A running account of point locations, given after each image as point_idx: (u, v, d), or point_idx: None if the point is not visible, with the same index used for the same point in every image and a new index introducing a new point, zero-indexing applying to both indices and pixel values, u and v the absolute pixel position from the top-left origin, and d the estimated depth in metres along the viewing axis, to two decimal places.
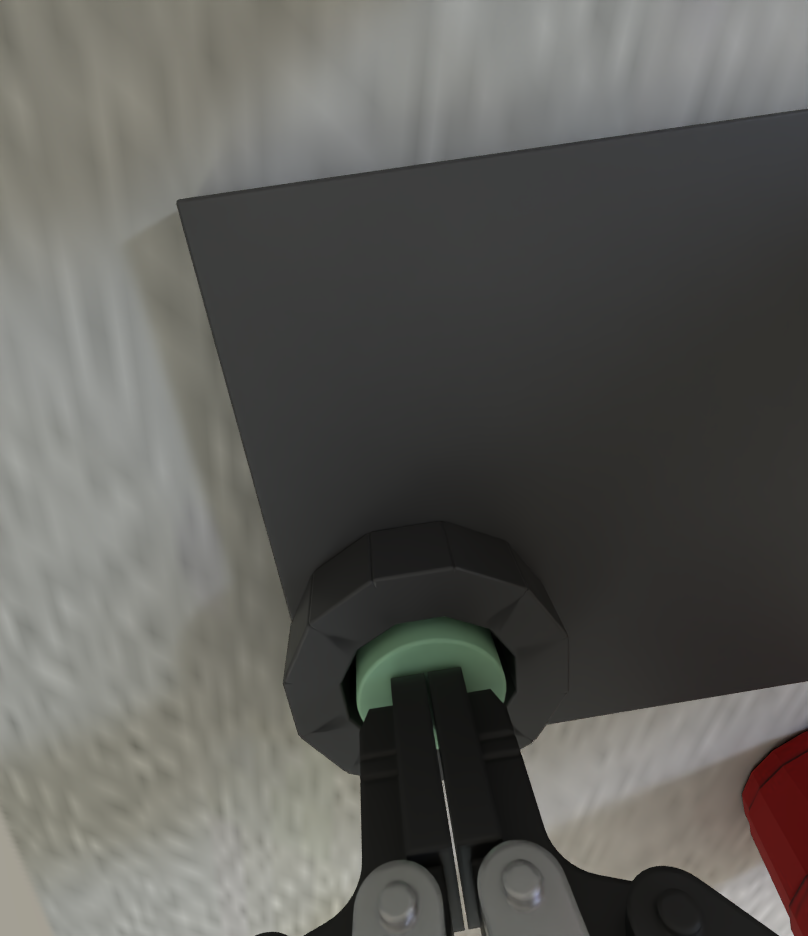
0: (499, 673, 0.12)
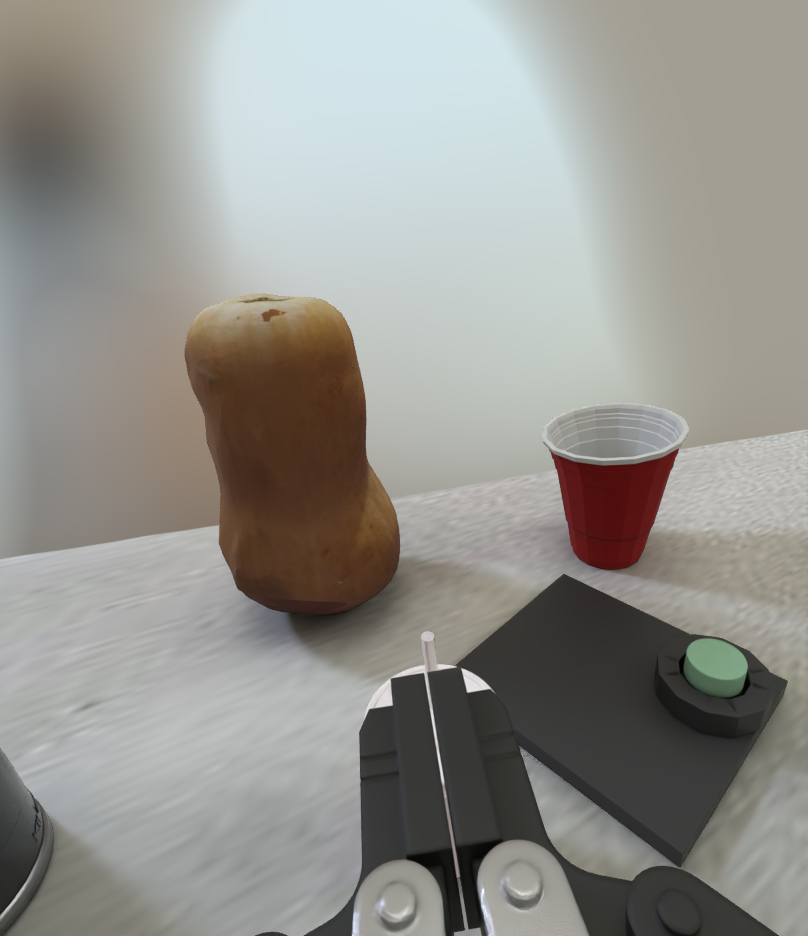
0: (688, 649, 0.34)
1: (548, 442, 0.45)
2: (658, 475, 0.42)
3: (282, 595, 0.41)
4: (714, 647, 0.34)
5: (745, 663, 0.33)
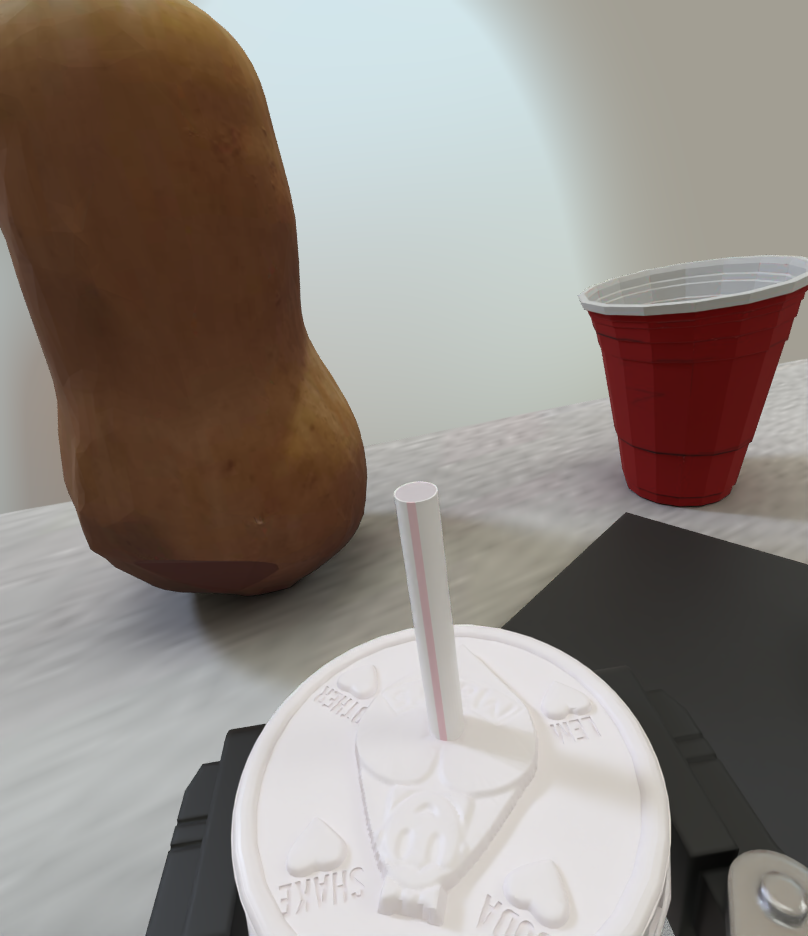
0: None
1: (593, 302, 0.29)
2: (778, 333, 0.26)
3: (160, 552, 0.23)
4: None
5: None
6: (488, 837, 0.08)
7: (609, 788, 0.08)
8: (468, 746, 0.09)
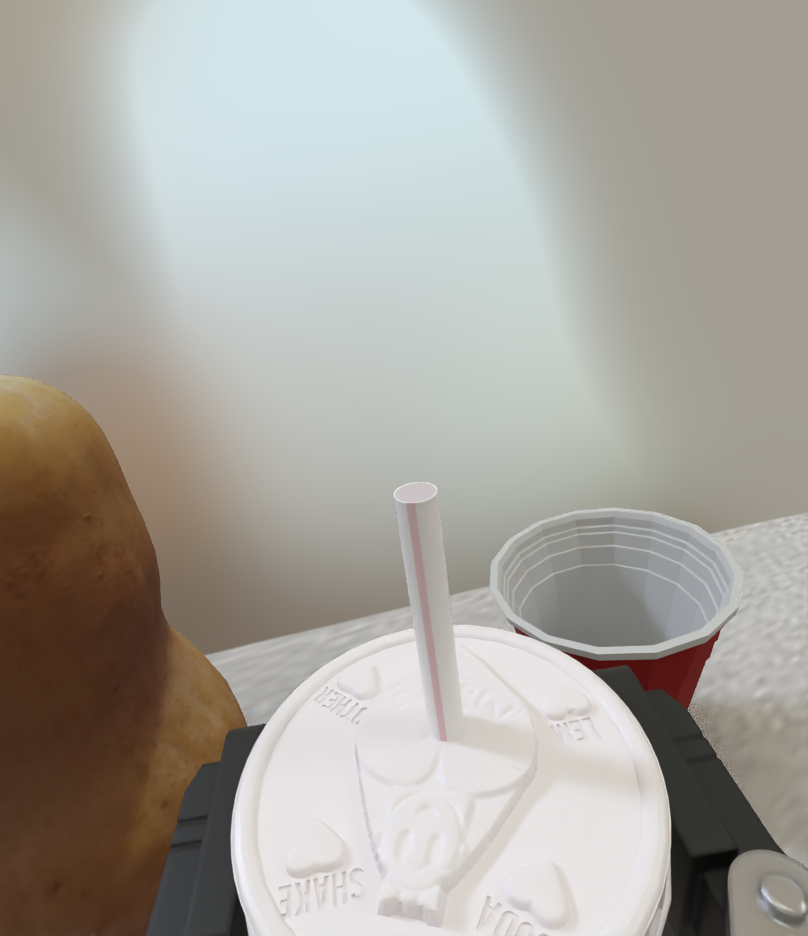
0: None
1: (499, 598, 0.26)
2: (695, 662, 0.23)
3: None
4: None
5: None
6: (488, 838, 0.08)
7: (609, 789, 0.08)
8: (468, 747, 0.09)
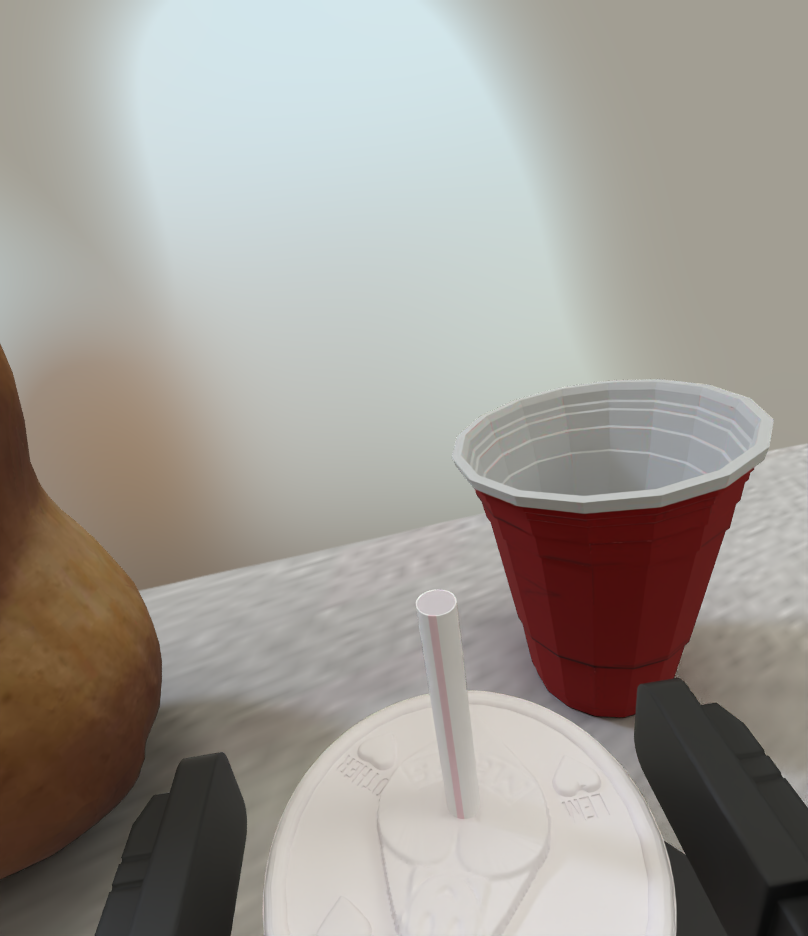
0: None
1: (463, 463, 0.21)
2: (712, 528, 0.18)
3: None
4: None
5: None
6: (504, 922, 0.08)
7: (618, 871, 0.08)
8: (484, 825, 0.09)
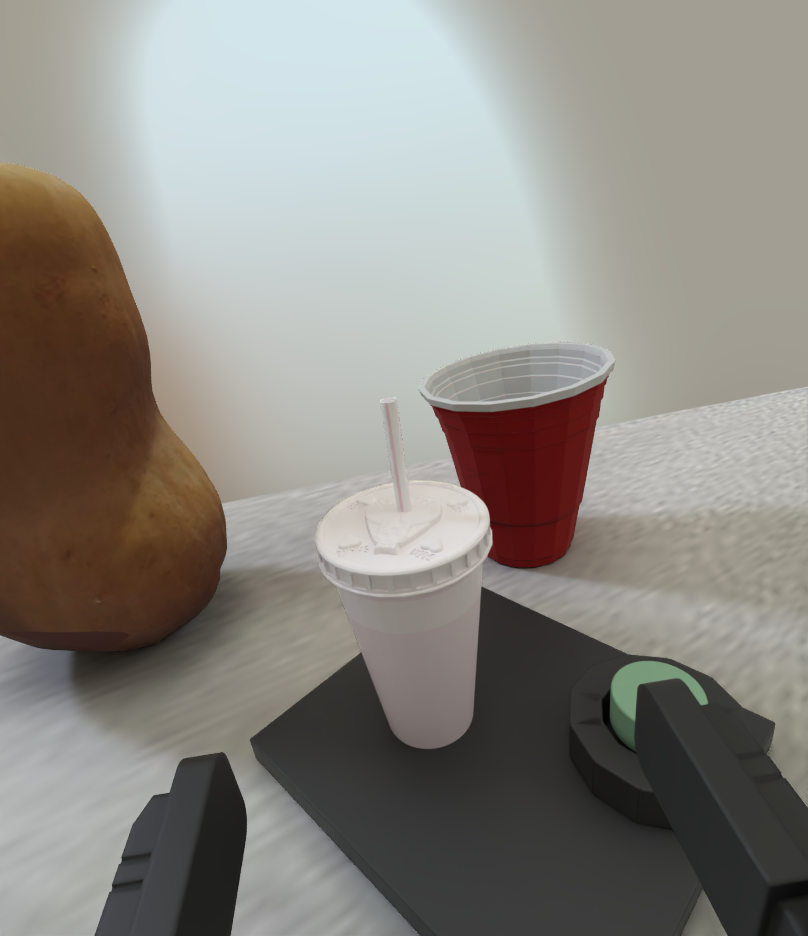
0: (614, 680, 0.21)
1: (425, 391, 0.32)
2: (574, 425, 0.30)
3: (15, 625, 0.27)
4: (655, 675, 0.21)
5: (704, 700, 0.20)
6: (416, 535, 0.19)
7: (467, 522, 0.20)
8: (412, 512, 0.21)
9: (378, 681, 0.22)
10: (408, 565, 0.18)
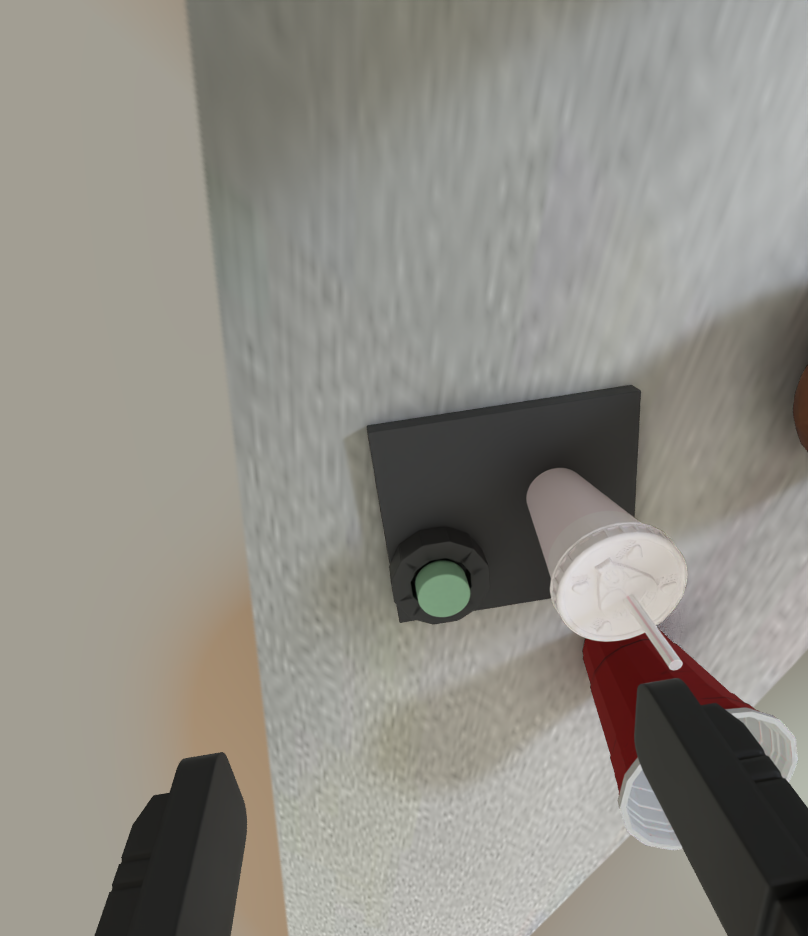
0: (467, 587, 0.34)
1: (767, 719, 0.31)
2: (617, 752, 0.34)
3: None
4: (452, 604, 0.35)
5: (423, 608, 0.35)
6: (598, 587, 0.27)
7: (579, 617, 0.27)
8: (619, 600, 0.27)
9: (578, 489, 0.31)
10: (578, 566, 0.26)
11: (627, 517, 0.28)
